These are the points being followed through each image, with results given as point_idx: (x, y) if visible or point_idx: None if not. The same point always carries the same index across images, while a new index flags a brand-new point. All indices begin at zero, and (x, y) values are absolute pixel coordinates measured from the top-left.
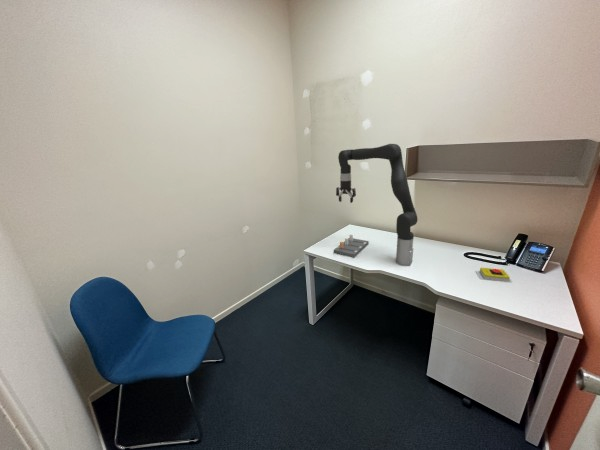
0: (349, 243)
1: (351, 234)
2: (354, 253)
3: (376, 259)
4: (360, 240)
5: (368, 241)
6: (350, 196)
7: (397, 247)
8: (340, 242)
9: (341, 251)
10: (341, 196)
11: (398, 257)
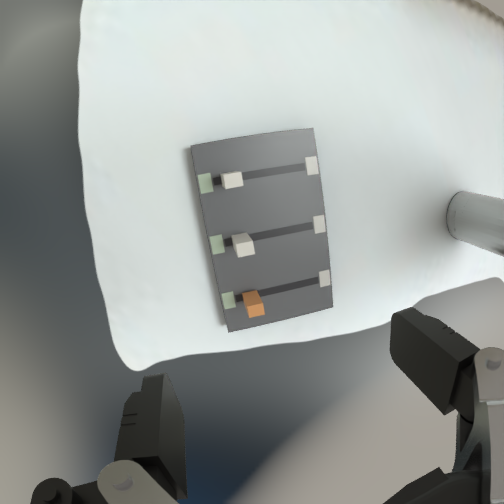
0: (245, 219)
1: (231, 173)
2: (329, 298)
3: (398, 254)
4: (272, 145)
5: (313, 130)
6: (466, 432)
7: (491, 248)
8: (252, 315)
9: (270, 321)
10: (158, 454)
11: (470, 243)
